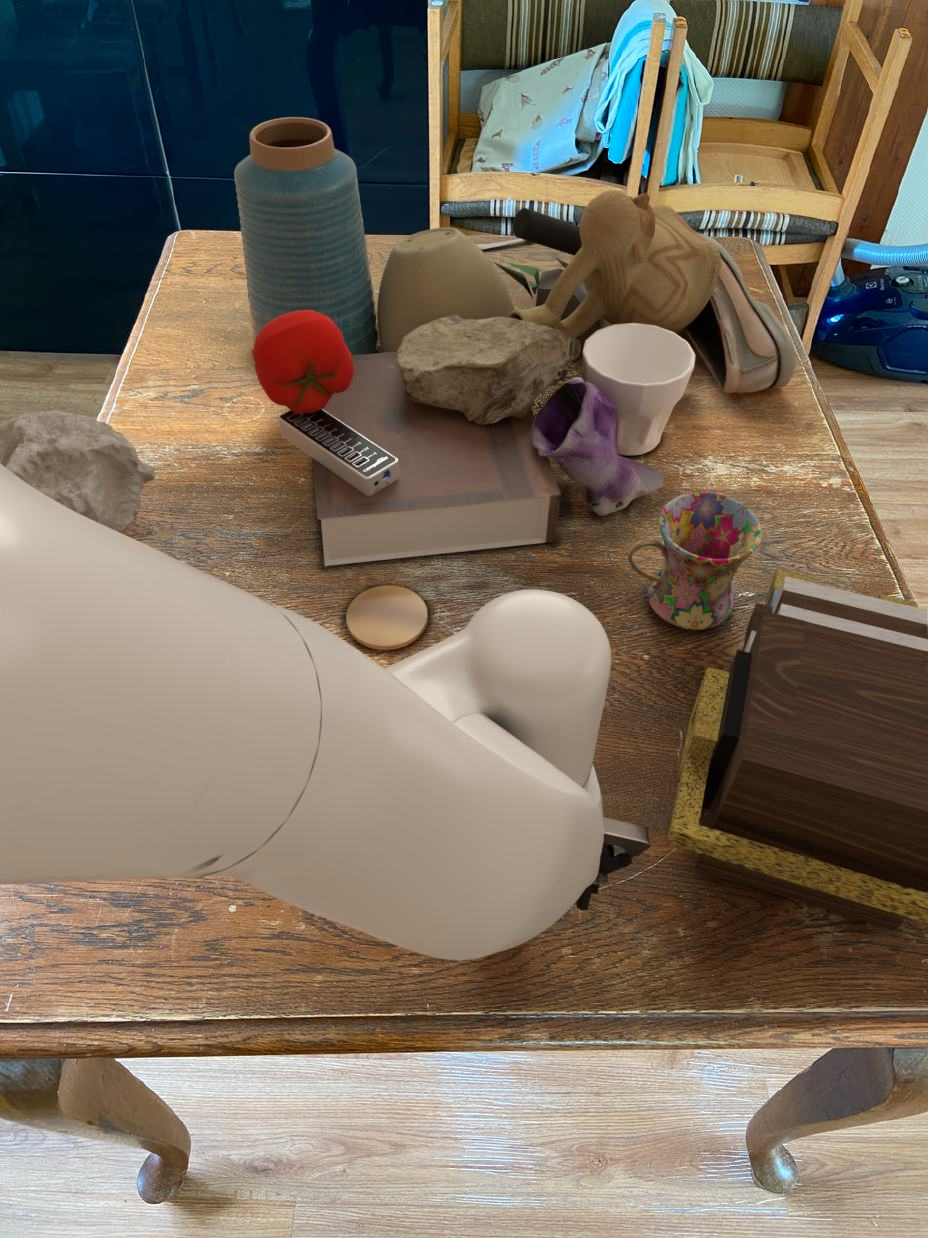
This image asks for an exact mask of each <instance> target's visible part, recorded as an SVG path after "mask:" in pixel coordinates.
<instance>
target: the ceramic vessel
mask: <svg viewBox="0 0 928 1238" xmlns="http://www.w3.org/2000/svg"><path fill="white" fill-rule="evenodd" d="M650 199H651V198H650V195H649V193H647V192H643V193H641V194H638V195H636V196H634V197H632V196H630V195H628V194H626V193H624V192H623V191H621V190H615V189H613V190H612V189H609V190H605V191H602V192H601V193H599V194H598V195H596V196H595V197H593V198H592V199H591V200H590V201H589V202H588V204H587V205H586V206H585V208H584V209H583V211H582V214H581V216H580V220H579V225H578V226H579V231H580V238H581V242H582V247H581V248H580V249H579V251H578V252H577V254H576V255H575V256H574V255H573V257H572V258H571V260H570V261H569V263H568V265H567V267H566V268H564V269H563V270H564V271H563V272H562V274H561V275H560V277H559V278H558V280H557V282H556V283H555V285H554V287H553V288H552V290H551V292H550V294H549V296H548V298H547V300H546V302H545V304H543V305H541V306H537V307H536V306H535V307H531V308H529V307H528V308H525V309H516V310H515V309H514V310H515V311H512V312H511V313H510V316H509V318H513V319H517V320H523V321H528V322H533V323H536V324H537V325H545V326H548V327H551V328H553V329H556V330H559V331H561V332H563V333H565V334H567V335H569V336H571V337H575V338H576V337H578V336H580V335H581V334H582V333H584V332H585V331H586V330H588V329H589V328H590V327H591V326H592V325H593V324H595V323H596V322H597V320H598V319H599V318H600V317H601V316H602V317H603V320H605V321H606V322H607V323H608V324H609V325H610V326H611V325H614V324H627V323H639V324H647V325H655V326H658V327H660V328H663V329H666V330H669V331H672V332H674V333H675V334H676V333H677V332H680V331H682V330H681V329H683V328H684V327H686V326H687V325H689V324H690V323H691V322H692V321H693V320H694V319H695V318H696V317H697V316H698V315H699V313H700V312H701V311H702V310H703V309H704V307H705V306H706V304H707V303H708V301H709V299H710V297H711V295H712V293H713V290H714V288H715V285H716V282H717V279H718V275H719V272H720V268H721V266H722V263H721V256H720V252H719V250H718V247H716V246H715V245H714V244H713V243H712V242H711V241H709V240H708V239H706V238H705V237H703V236H702V235H700V234H699V233H700V232H697V231H696V230H694V229H693V228H691V226H690V225H689V224H688V223H687V222H686V221H685V220H684V219H683V218H682V217H681V216H680V214H678V212H676V210H675V209H673V208H672V207H671V206H669V205H664V204H660V205H655V206H651V204H650ZM583 281H584V285H585V287H586V290H587V292H588V294H587V295H586V297H585V299H584V300H583V301H582V303H581V304H580V305H579V307H578V308H577V309H576V310H575V311H574V312H573V313H572V314H571V315H570V316H569V317H567V318H566V319H564V320H562V321H560V320H561V317H562V314H563V312H564V310H565V308H566V305H567V304H568V302H569V300H570V299H571V297H572V295H573V294H574V293H575V291H576V290H577V288H578V287H579V285H580V284H581V283H582V282H583Z"/></svg>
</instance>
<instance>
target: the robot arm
mask: <svg viewBox="0 0 928 1238" xmlns="http://www.w3.org/2000/svg"><path fill="white" fill-rule="evenodd" d="M611 668H612V651H611V644H610V641H609V638H608V634H607V632H606V630H605V629H604V626H603V625H602V624H601V622H600V621H599V619H598V618H597V617H596V615H595V614H594V613H593V612H592V611H591V610H589V609H588V608H587V607H586V606H584V605H583V604H581V603H580V602H579V601H577V600H575V598H571V597H569V596H567V595H565V594H562V593H560V592H556V591H551V590H545V589H521V590H515V591H511V592H508V593H504V594H501V595H500V596H498V597H494V598H493V599H492V600H490V601H489V602H487V603H485V604H484V605H483V606H481V607H480V608H479V610H477V611H476V612H475V613H474V615H473V616H472V618H471V619H470V620H469V621H468V622H467V624H466V626H465V627H464V628H462V629H461V630H459V631H458V632H457V631H456V633H454V634H452V635H450V636H449V637H446V638H445V639H442V640H440V641H439V642H436V643H435V644H433V645H431V646H429V647H427V648H425V649H423V650H421V651H418V652H417V653H414V654H412V655H410V656H407V657H406V658H404V659H400V660H399V661H396V662H395V663H392V664H391V665H388V666H386V667H383V666H382V665H381V664H379V663H377V662H376V661H374V660H373V659H372V658H370V657H369V656H367V655H366V654H365V653H363V652H362V651H360V650H359V649H357V648H356V647H354V646H353V645H352V644H350V643H349V642H347V641H345V640H344V639H343V638H341V637H339V636H338V635H336V634H335V633H333V632H332V631H330V630H328V629H326V628H325V627H323V626H322V625H321V624H319V623H317V622H316V621H314V620H311V619H309V618H307V617H305V616H303V615H301V614H299V613H297V612H295V611H292V610H290V609H287V608H285V607H283V606H279V605H277V604H275V603H274V602H271V601H268V600H266V599H265V598H262V597H260V596H258V595H256V594H254V593H251V592H249V591H247V590H244V589H242V588H240V587H237V586H235V585H233V584H231V583H229V582H227V581H224V580H222V579H220V578H218V577H216V576H214V575H211V574H210V573H208V572H205V571H202V570H200V569H198V568H196V567H194V566H191V565H189V564H187V563H185V562H183V561H181V560H179V559H177V558H174V557H173V556H170V555H168V554H167V553H165V552H163V551H161V550H159V549H156V548H154V547H152V546H150V545H148V544H145V543H143V542H141V541H139V540H137V539H134V538H133V537H130V536H128V535H126V534H125V533H124V534H123V533H122V532H120V533H119V532H117V531H115V530H113V529H111V528H109V527H106V526H104V525H102V524H100V523H98V522H95V521H93V520H91V519H89V518H87V517H85V516H83V515H81V514H79V513H77V512H75V511H73V510H71V509H69V508H67V507H65V506H64V505H62V504H60V503H58V502H56V501H55V500H53V499H51V498H49V497H47V496H46V495H44V494H43V493H41V492H40V491H38V490H37V489H35V488H33V487H32V486H30V485H29V484H27V483H26V482H24V481H23V480H22V479H20V478H19V477H18V476H16V475H15V474H13V473H12V472H11V471H9V470H8V469H7V468H5V467H4V466H3V465H2V464H0V885H24V884H27V885H28V884H52V883H53V884H55V883H56V884H57V883H82V882H100V881H101V882H103V881H128V880H129V881H131V880H133V881H134V880H156V879H157V880H159V879H193V878H212V877H213V878H215V877H227V878H228V877H229V878H233V879H236V880H237V881H240V882H242V883H244V884H246V885H248V886H250V887H253V888H254V889H256V890H258V891H260V892H262V893H264V894H266V895H269V896H270V897H272V898H275V899H277V900H279V901H281V902H283V903H285V904H287V905H290V906H293V907H296V908H298V909H300V910H302V911H305V912H307V913H310V914H312V915H315V916H318V917H320V918H324V919H326V920H329V921H331V922H335V923H337V924H340V925H342V926H345V927H348V928H351V929H353V930H355V931H358V932H361V933H363V934H366V935H369V936H371V937H373V938H376V939H379V940H381V941H384V942H386V943H389V944H391V945H394V946H397V947H399V948H403V949H405V950H408V951H411V952H414V953H417V954H420V955H424V956H427V957H431V958H436V959H441V960H450V961H470V960H471V961H472V960H477V959H482V958H484V957H488V956H491V955H495V954H498V953H501V952H504V951H507V950H510V949H512V948H516V947H518V946H520V945H522V944H525V943H526V942H528V941H530V940H533V938H535V937H537V936H538V935H540V934H541V933H543V932H545V931H546V930H547V929H549V928H550V927H551V926H552V925H555V924H556V923H557V922H558V921H559V920H560V919H561V918H562V917H563V916H564V915H565V914H567V912H568V911H569V910H570V909H571V908H573V906H574V905H575V904H576V909H579V911H588V909H589V905H590V901H591V897H592V894H598V892H599V888H600V886H601V885H604V884H607V883H608V882H609V877H608V875H609V874H611V873H614V872H616V871H618V870H621V869H624V868H625V869H626V868H627V867H628V866H630V865H631V864H632V863H633V858H635V857H639V856H640V855H641V854H643V853H644V852H646V851H647V850H649V849H650V848H651V847H652V843H651V837H650V832H649V828H648V827H647V826H645V825H640V824H636V823H632V822H628V821H625V820H620V819H615V818H612V817H611V818H610V817H608V816H607V817H606V816H604V810H603V809H604V808H603V799H602V797H603V796H602V791H601V788H600V784H599V781H598V775H597V773H596V769H595V767H594V765H593V761H594V756H595V752H596V746H597V741H598V736H599V732H600V731H599V730H600V726H601V721H602V716H603V712H604V707H605V701H606V697H607V693H608V692H607V691H608V687H609V682H610V678H611V671H612V669H611Z"/></svg>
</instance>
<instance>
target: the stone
mask: <svg viewBox="0 0 928 1238" xmlns="http://www.w3.org/2000/svg"><path fill="white" fill-rule="evenodd" d="M0 464H2V465H3V466H4V467H5V468H7V469H8V470H9V471H11V472H12V473H13V474H15V475H16V476H18V477H19V478H20V479H22V480H23V481H24V482H26V483H27V484H29V485H30V486H32V487H33V488H35V489H37V490H38V491H40V492H41V493H43V494H44V495H46V496H47V497H49V498H51V499H53V500H55V501H56V502H58V503H60V504H62V505H64V506H65V507H67V508H69V509H71V510H73V511H75V512H77V513H79V514H81V515H83V516H85V517H87V518H89V519H91V520H93V521H95V522H98V523H100V524H102V525H104V526H106V527H109V528H111V529H113V530H115V531H117V532H119V533H122V532H123V531H125V530H126V529H127V527H128V526H129V525H130V524H132V522H133V521H134V519H135V518H136V517H137V515H138V513H139V509H140V505H141V502H142V498H141V492H142V490H143V488H144V486H145V484H146V483H149V482H152V481H154V480H155V478H156V477H157V474H156V472H155V467H153V466H152V465H150V464H148V463H144V462H142V461H141V460H140V459H139V457H138V453H137V450H136V448H135V447H134V445H133V444H132V443H131V442H130V441H129V440H128V439H127V438H126V437H125V436H124V434H123V433H121V432H118V431H116V430H115V429H114V428H113V427H112V426H111V425H110V424H108V423H106V422H104V421H99V420H97V419H95V418H92V417H90V416H88V415H85V414H80V413H79V414H77V413H76V414H75V413H73V412H67V411H64V410H55V409H53V410H50V411H43V410H38V411H37V412H32V411H31V412H23V413H22V414H18V415H16V416H13V417H12V418H10V419H9V420H6V421H4V422H2V424H0Z"/></svg>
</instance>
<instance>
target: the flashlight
mask: <svg viewBox="0 0 928 1238" xmlns="http://www.w3.org/2000/svg"><path fill="white" fill-rule="evenodd" d="M514 216H515V217H514V219H513V222H512V233H513V235H514V237H516V239H519V238H520V239H523V240H527V241H526V242H528V241H530V242H531V243H534V244H537V245H539V246H543V247H545V248H549V249H552V250H555V251H558V252H561V253H565V254H568V255H571V256H573V257H574V256H575V255H576V254H577V252H578V251H579V249H580V248H581V247H582V242H581V238H580V231H579V226H580V225H577V224H574V223H571V222H568V221H565V220H562V219H559V218H557V217H553V216H550V215H548V214H544V213H542V212H539V211H536V210H534V209H530V208H528V207H523V208H520V209H519V210H518V211H517V213H516V214H515V215H514ZM530 242H529V243H530Z"/></svg>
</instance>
